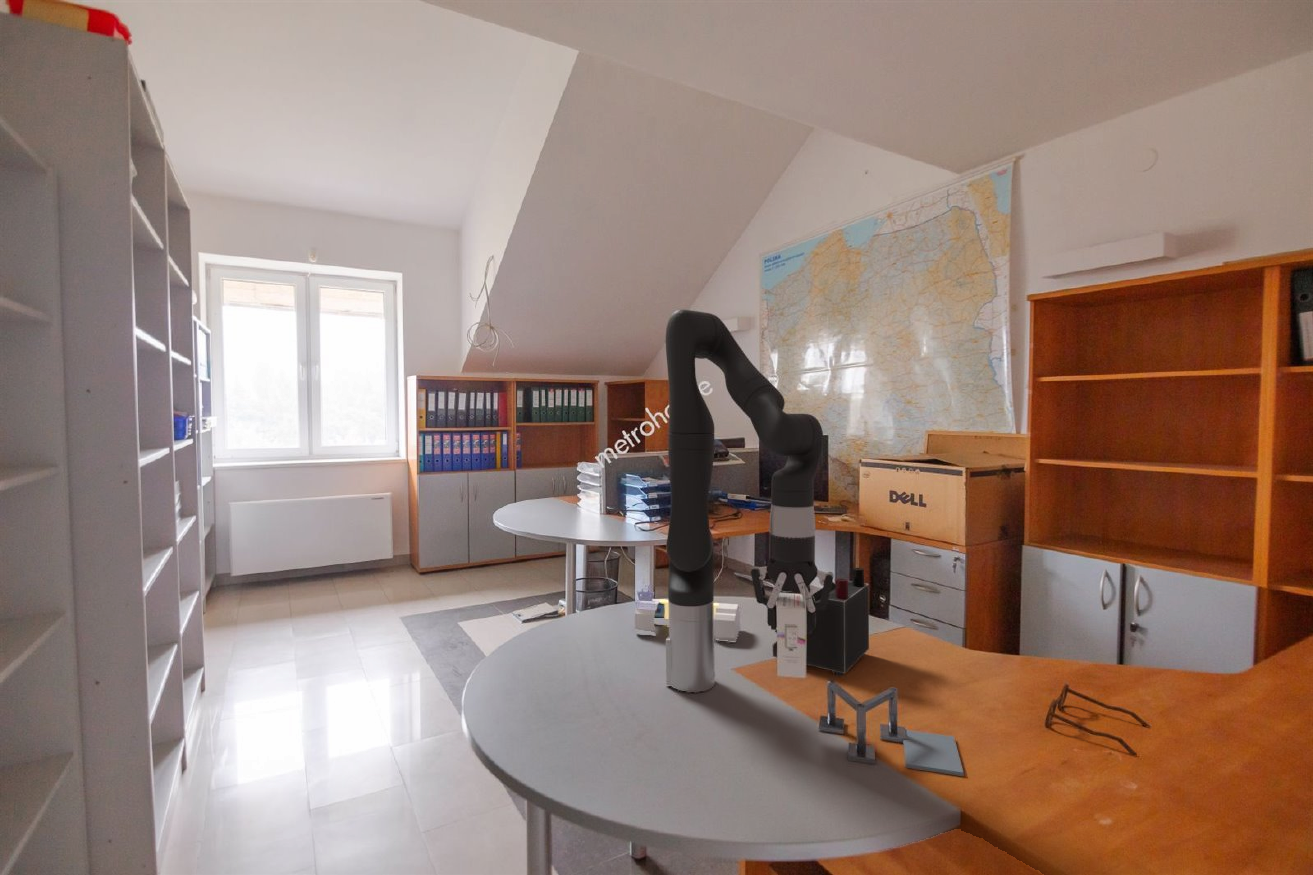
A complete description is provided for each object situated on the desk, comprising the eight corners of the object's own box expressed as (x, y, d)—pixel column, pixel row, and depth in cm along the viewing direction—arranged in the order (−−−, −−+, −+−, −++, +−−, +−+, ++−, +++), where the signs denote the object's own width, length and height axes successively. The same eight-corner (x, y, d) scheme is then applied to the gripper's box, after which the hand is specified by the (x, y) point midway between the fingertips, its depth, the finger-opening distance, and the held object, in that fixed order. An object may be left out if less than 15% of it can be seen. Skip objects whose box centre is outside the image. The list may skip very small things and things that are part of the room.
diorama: (634, 637, 155) (634, 585, 154) (646, 623, 164) (645, 575, 164) (734, 645, 148) (734, 591, 147) (740, 631, 158) (740, 580, 157)
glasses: (1062, 705, 115) (1062, 679, 115) (1151, 729, 106) (1151, 701, 106) (1043, 731, 106) (1043, 703, 106) (1138, 760, 97) (1139, 729, 97)
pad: (905, 767, 95) (905, 763, 95) (902, 732, 106) (902, 729, 105) (963, 776, 93) (963, 772, 92) (953, 739, 103) (953, 736, 103)
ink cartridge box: (776, 657, 110) (777, 575, 110) (805, 659, 109) (806, 576, 109) (775, 676, 102) (776, 588, 101) (806, 679, 101) (807, 590, 100)
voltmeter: (800, 640, 150) (799, 558, 149) (868, 655, 140) (868, 567, 139) (771, 662, 137) (770, 572, 136) (844, 680, 127) (844, 583, 126)
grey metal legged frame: (815, 755, 99) (814, 705, 99) (820, 720, 110) (820, 675, 110) (909, 769, 94) (909, 718, 94) (905, 731, 106) (905, 685, 106)
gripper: (745, 532, 104) (745, 633, 104) (834, 538, 99) (834, 643, 99) (753, 525, 111) (753, 619, 111) (837, 530, 106) (836, 628, 107)
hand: (791, 630), depth 105 cm, fingers closed on ink cartridge box, 5 cm apart
